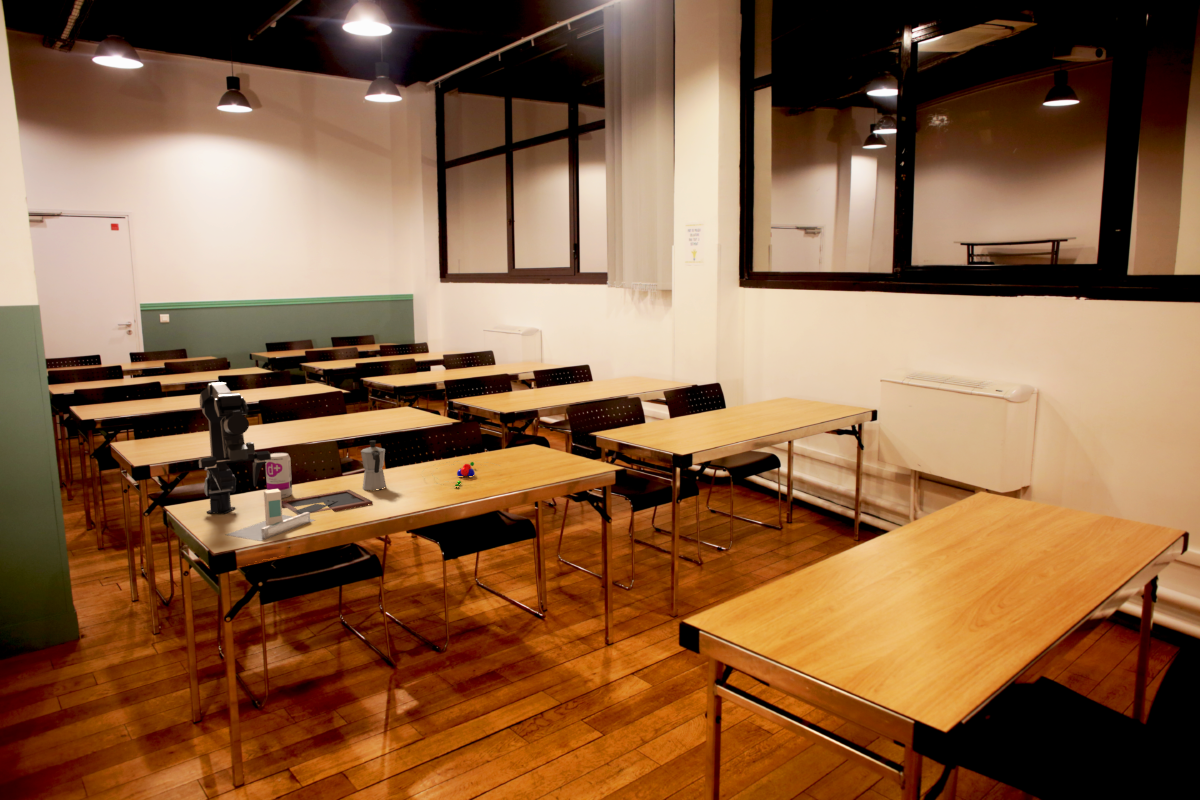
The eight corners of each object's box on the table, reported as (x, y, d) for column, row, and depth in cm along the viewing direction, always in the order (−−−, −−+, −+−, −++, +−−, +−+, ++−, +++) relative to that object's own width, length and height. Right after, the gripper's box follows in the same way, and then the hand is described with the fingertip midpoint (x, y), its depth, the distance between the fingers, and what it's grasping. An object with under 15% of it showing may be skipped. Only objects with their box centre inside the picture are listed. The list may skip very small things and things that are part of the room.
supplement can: (283, 499, 267) (281, 457, 265) (262, 498, 268) (260, 456, 266) (297, 493, 275) (294, 453, 272) (276, 492, 276) (274, 451, 274)
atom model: (502, 493, 283) (502, 479, 282) (410, 489, 283) (410, 474, 282) (514, 467, 317) (514, 454, 316) (433, 463, 317) (433, 450, 316)
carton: (266, 527, 233) (263, 490, 231) (279, 524, 235) (277, 488, 234) (269, 530, 230) (266, 493, 228) (283, 528, 232) (280, 491, 230)
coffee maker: (359, 485, 286) (357, 438, 284) (382, 482, 290) (381, 436, 288) (366, 494, 273) (364, 445, 271) (391, 492, 277) (389, 443, 275)
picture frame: (299, 520, 245) (372, 506, 262) (298, 514, 245) (372, 500, 261) (278, 506, 260) (349, 494, 277) (278, 500, 260) (349, 488, 276)
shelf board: (225, 537, 226) (225, 534, 225) (282, 517, 246) (282, 514, 246) (260, 544, 220) (260, 540, 220) (315, 523, 240) (315, 520, 240)
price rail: (261, 538, 223) (261, 528, 222) (307, 521, 239) (306, 511, 239) (265, 538, 222) (264, 528, 222) (310, 521, 238) (310, 512, 238)
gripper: (201, 438, 213) (207, 493, 213) (272, 431, 224) (277, 484, 223) (196, 439, 222) (201, 492, 222) (264, 433, 233) (269, 483, 232)
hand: (238, 488), depth 225 cm, fingers open, 9 cm apart
